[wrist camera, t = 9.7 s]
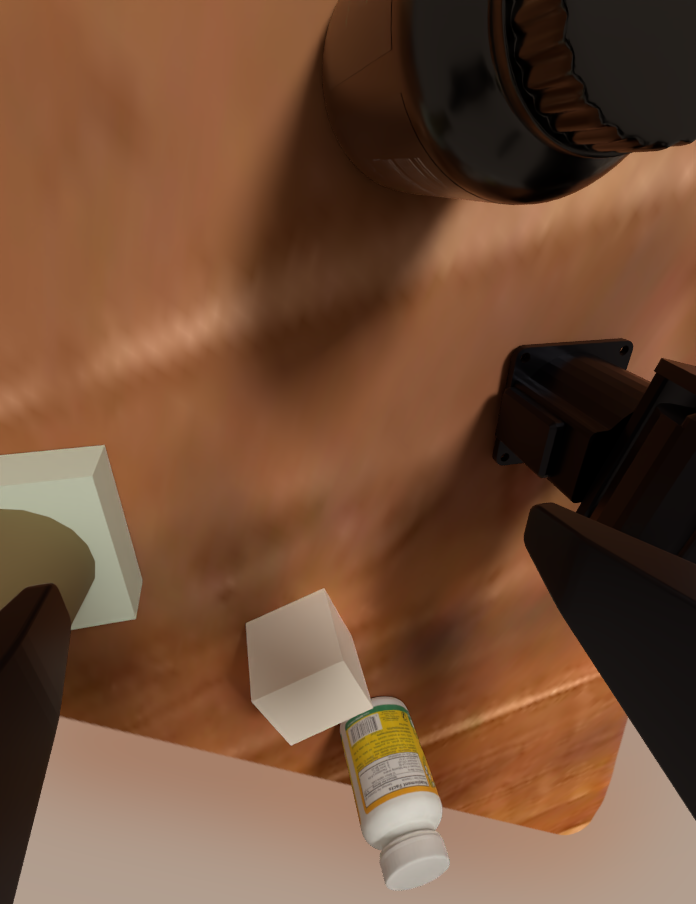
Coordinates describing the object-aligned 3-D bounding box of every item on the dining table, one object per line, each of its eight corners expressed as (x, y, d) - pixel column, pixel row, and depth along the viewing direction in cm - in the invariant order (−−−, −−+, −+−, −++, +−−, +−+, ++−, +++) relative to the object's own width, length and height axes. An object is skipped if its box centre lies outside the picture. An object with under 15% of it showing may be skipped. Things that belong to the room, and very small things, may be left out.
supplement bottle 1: (351, 694, 34) (394, 857, 26) (417, 692, 36) (476, 844, 28) (328, 740, 36) (362, 903, 28) (391, 737, 38) (440, 888, 30)
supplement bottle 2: (529, 121, 18) (916, 61, 8) (380, 230, 19) (569, 297, 9) (458, -111, 15) (1003, -739, 5) (277, 33, 15) (401, -231, 5)
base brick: (104, 445, 21) (92, 476, 18) (142, 580, 25) (136, 618, 22) (-115, 466, 19) (-156, 503, 17) (-35, 608, 23) (-60, 652, 21)
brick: (323, 587, 28) (343, 660, 24) (351, 635, 31) (373, 708, 27) (245, 622, 28) (251, 701, 24) (280, 667, 31) (290, 745, 27)
